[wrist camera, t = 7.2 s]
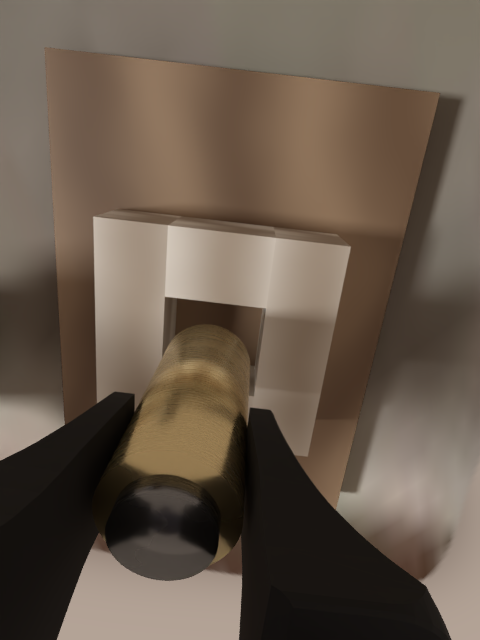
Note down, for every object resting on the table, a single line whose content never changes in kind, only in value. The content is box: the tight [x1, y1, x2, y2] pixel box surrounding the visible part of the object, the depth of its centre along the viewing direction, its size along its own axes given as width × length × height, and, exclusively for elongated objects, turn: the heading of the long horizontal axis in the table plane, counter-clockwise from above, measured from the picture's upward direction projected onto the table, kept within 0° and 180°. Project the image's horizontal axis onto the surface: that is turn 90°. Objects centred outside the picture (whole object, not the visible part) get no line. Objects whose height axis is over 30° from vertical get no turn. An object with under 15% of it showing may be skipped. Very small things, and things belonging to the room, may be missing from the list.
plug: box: [92, 324, 250, 581], centre depth 12 cm, size 3×3×8 cm
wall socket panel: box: [45, 47, 440, 510], centre depth 20 cm, size 16×22×4 cm
